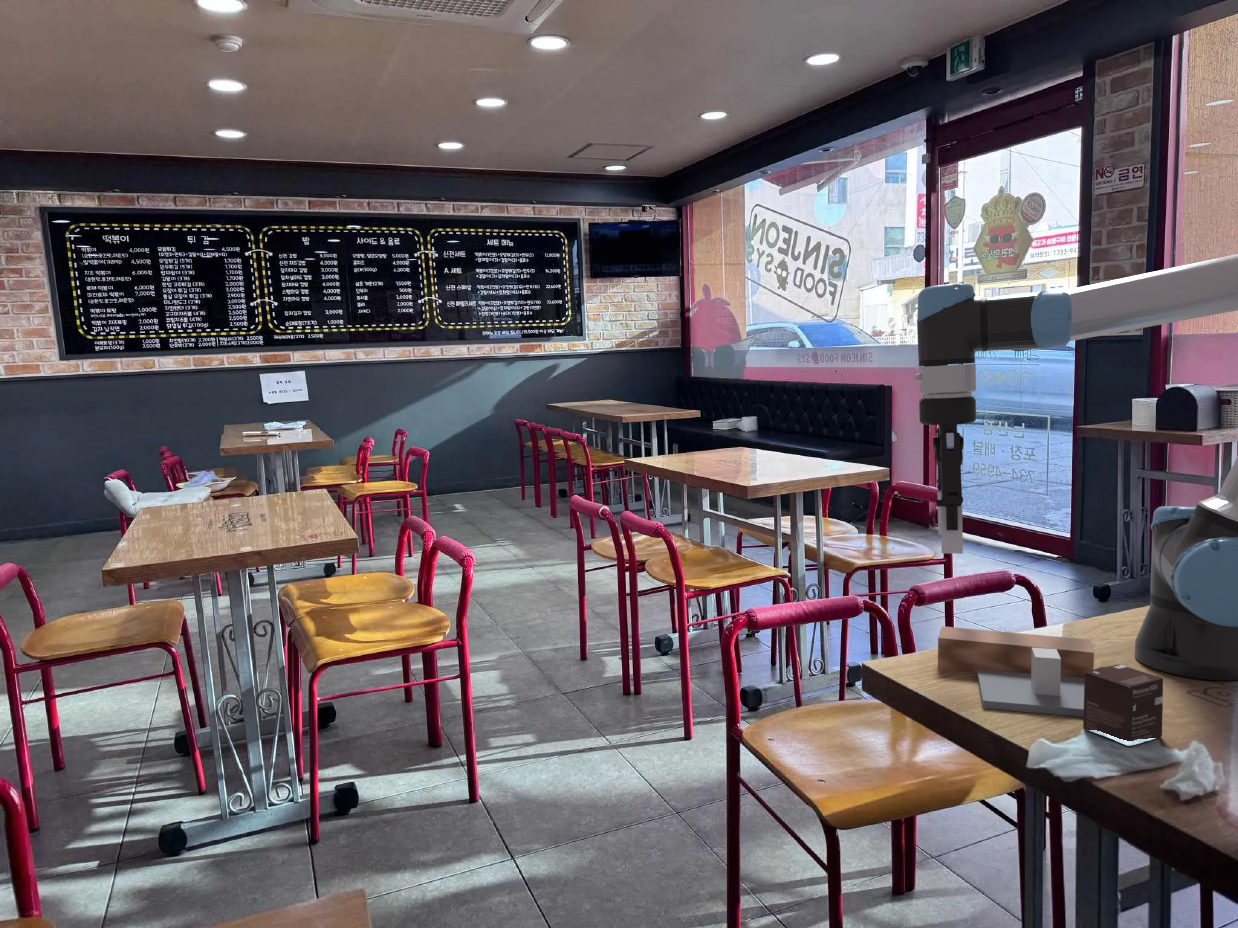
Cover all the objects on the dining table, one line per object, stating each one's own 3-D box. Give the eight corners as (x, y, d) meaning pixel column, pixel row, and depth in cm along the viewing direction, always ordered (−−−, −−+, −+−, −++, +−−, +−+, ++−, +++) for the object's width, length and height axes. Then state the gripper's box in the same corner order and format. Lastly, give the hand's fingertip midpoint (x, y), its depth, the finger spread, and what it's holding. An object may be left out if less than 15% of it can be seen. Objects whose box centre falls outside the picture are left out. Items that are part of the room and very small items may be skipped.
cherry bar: (1089, 673, 123) (1090, 639, 123) (1092, 687, 118) (1093, 652, 117) (941, 657, 132) (941, 626, 131) (937, 670, 126) (938, 637, 126)
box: (1127, 748, 99) (1129, 686, 98) (1081, 729, 104) (1082, 670, 103) (1163, 738, 101) (1165, 677, 100) (1115, 719, 107) (1117, 662, 106)
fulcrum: (1104, 686, 117) (1105, 643, 117) (1123, 720, 106) (1124, 673, 106) (977, 676, 123) (977, 635, 122) (983, 707, 111) (983, 662, 111)
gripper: (918, 394, 135) (921, 527, 137) (920, 400, 111) (923, 561, 114) (969, 392, 133) (971, 527, 135) (982, 397, 109) (985, 562, 111)
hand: (949, 543), depth 124 cm, fingers open, 13 cm apart
